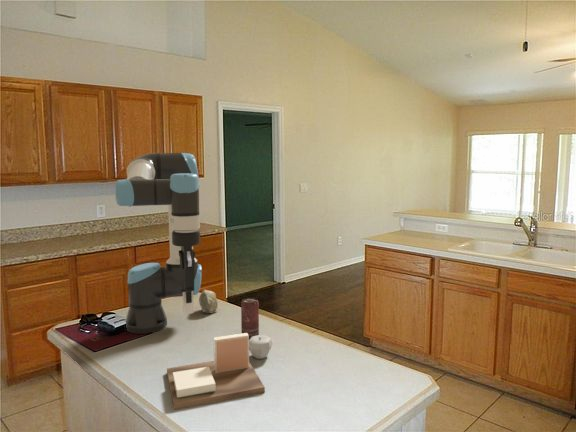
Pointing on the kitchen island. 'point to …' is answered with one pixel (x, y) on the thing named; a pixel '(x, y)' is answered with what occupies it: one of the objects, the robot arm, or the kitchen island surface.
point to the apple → (260, 346)
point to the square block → (193, 382)
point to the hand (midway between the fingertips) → (188, 312)
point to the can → (250, 316)
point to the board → (218, 385)
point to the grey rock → (208, 301)
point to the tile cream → (231, 352)
